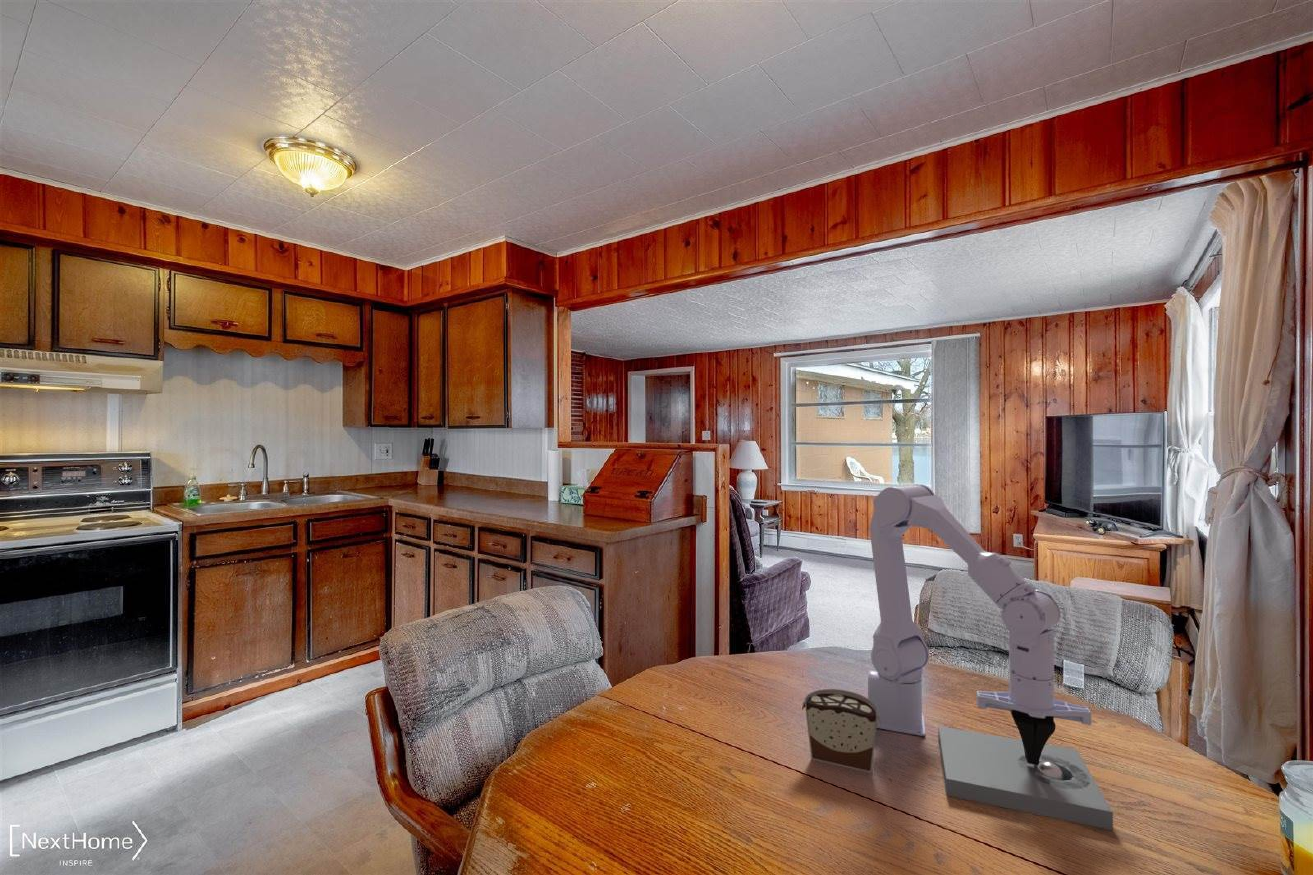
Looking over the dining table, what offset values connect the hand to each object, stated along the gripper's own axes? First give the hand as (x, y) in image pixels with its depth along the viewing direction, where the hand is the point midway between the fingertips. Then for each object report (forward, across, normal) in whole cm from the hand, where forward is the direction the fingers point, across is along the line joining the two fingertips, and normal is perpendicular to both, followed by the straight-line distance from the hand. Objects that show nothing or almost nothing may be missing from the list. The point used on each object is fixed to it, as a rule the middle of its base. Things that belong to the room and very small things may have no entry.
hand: (1031, 760), depth 86 cm
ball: (+2, +2, 0) cm, 3 cm away
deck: (+3, -2, 0) cm, 4 cm away
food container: (+4, -27, -3) cm, 28 cm away
